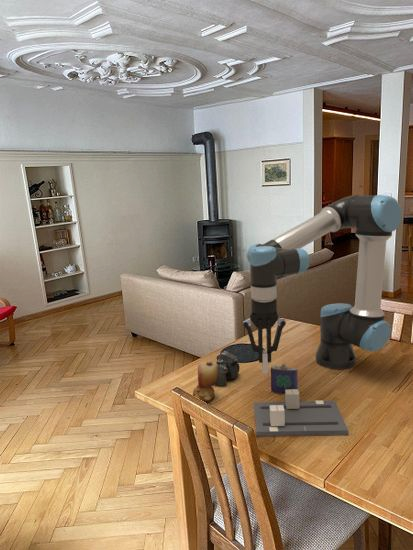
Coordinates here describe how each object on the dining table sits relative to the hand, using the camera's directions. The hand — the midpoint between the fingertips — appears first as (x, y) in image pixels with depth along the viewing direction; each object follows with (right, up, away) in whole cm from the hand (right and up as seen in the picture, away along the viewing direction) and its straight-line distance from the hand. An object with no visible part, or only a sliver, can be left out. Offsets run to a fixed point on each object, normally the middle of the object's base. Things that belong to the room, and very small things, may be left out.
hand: (265, 371), depth 127 cm
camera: (-11, -9, +27) cm, 31 cm away
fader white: (+3, -14, -6) cm, 15 cm away
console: (+10, -14, -2) cm, 17 cm away
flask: (+9, -11, +15) cm, 21 cm away
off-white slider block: (+9, -12, +2) cm, 15 cm away
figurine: (-18, -13, +14) cm, 26 cm away
